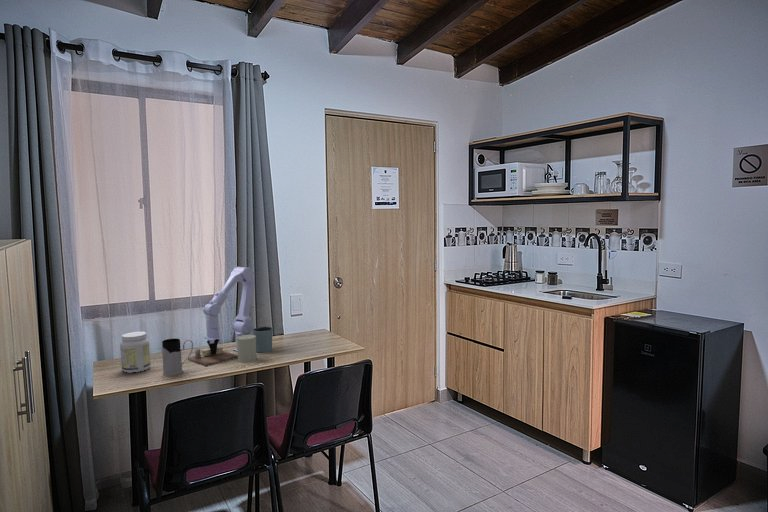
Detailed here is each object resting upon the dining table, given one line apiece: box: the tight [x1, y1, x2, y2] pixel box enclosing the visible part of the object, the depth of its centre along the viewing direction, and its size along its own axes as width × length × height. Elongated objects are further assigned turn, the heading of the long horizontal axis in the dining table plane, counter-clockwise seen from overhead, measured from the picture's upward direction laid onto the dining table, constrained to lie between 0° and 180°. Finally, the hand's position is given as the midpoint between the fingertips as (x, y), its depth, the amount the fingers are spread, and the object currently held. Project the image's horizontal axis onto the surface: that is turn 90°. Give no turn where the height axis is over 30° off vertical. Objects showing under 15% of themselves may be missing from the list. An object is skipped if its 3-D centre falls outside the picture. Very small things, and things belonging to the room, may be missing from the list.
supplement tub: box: [119, 331, 152, 374], centre depth 230 cm, size 12×12×17 cm
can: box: [237, 335, 258, 363], centre depth 242 cm, size 9×9×12 cm
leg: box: [201, 346, 224, 357], centre depth 248 cm, size 10×2×3 cm, turn 126°
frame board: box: [187, 348, 238, 367], centre depth 245 cm, size 18×17×5 cm
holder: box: [161, 338, 194, 377], centre depth 226 cm, size 9×14×15 cm, turn 134°
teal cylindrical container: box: [252, 326, 274, 354], centre depth 257 cm, size 10×10×12 cm
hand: (213, 354), depth 247 cm, fingers closed, pressing on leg
